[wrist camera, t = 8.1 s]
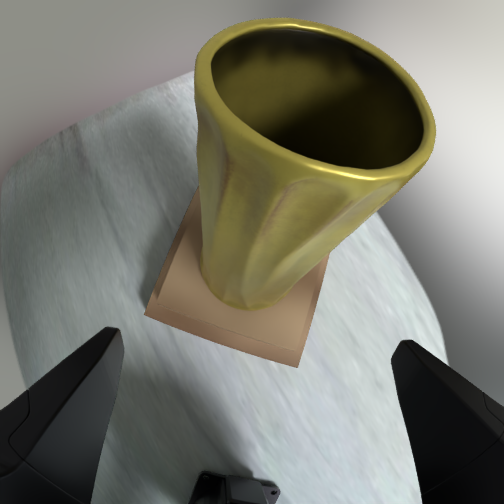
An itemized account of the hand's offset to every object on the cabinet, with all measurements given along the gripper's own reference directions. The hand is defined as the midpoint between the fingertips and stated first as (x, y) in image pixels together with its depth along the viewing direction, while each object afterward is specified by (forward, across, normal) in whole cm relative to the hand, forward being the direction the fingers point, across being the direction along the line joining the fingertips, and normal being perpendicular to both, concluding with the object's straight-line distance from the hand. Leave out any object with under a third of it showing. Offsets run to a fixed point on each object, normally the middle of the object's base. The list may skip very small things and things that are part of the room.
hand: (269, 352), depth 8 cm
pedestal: (+13, 0, +5) cm, 14 cm away
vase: (+10, 0, +3) cm, 11 cm away
